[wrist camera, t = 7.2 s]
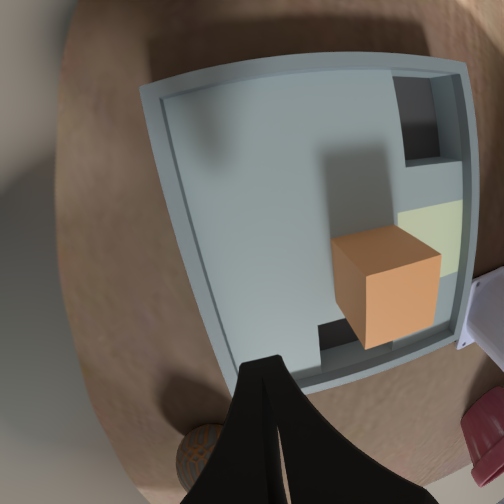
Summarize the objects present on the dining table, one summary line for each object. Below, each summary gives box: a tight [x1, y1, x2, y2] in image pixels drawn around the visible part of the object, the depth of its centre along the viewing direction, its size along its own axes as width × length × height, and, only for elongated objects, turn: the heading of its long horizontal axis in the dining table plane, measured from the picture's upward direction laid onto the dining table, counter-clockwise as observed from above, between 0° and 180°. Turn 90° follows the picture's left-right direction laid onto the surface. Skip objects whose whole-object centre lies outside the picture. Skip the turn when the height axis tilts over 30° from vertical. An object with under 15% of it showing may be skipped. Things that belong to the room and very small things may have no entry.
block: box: [330, 224, 442, 350], centre depth 14 cm, size 4×4×4 cm
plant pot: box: [461, 386, 504, 487], centre depth 26 cm, size 14×14×13 cm
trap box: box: [139, 52, 479, 398], centre depth 16 cm, size 18×20×3 cm
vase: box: [176, 424, 223, 493], centre depth 21 cm, size 7×7×9 cm
